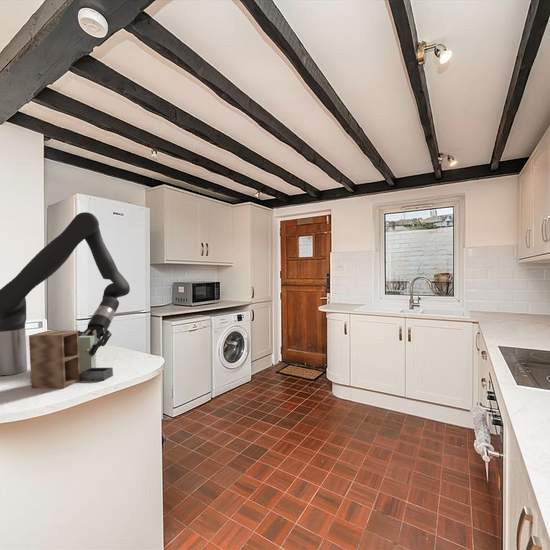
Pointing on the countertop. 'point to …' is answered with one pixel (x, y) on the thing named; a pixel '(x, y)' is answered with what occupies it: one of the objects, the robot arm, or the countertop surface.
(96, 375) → the dark grey rectangular frame
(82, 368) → the sage green block
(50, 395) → the countertop surface
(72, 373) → the cabinet
